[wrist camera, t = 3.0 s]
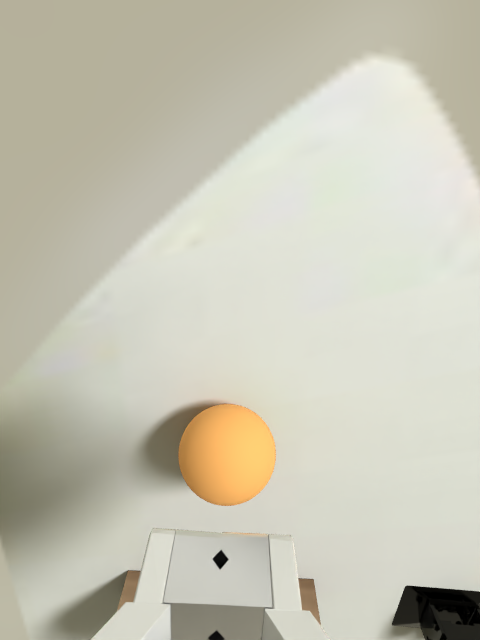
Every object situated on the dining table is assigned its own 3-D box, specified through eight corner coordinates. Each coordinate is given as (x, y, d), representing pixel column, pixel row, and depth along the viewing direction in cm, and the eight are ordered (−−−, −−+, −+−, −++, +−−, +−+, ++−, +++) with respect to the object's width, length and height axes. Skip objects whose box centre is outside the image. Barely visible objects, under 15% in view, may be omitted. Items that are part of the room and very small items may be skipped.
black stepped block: (362, 624, 38) (377, 683, 34) (381, 564, 36) (399, 621, 31) (500, 635, 39) (532, 695, 34) (529, 577, 36) (567, 635, 32)
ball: (269, 462, 31) (274, 531, 25) (184, 457, 31) (171, 526, 25) (276, 388, 29) (284, 447, 23) (185, 383, 29) (171, 441, 23)
